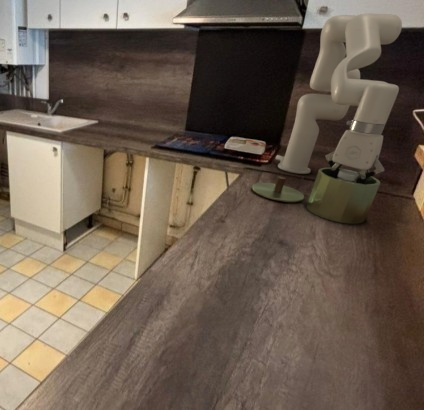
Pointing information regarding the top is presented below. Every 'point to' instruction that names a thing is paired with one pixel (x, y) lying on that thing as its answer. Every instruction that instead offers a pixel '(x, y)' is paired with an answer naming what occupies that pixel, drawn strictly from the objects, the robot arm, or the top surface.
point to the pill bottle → (348, 176)
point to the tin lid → (278, 191)
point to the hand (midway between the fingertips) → (344, 185)
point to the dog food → (245, 145)
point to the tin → (341, 198)
